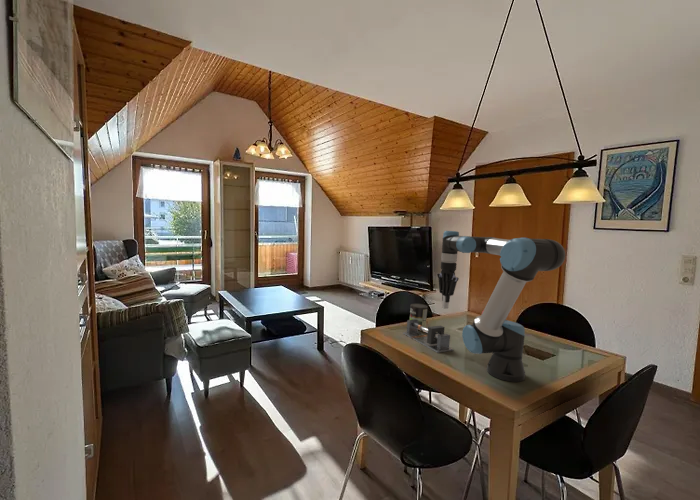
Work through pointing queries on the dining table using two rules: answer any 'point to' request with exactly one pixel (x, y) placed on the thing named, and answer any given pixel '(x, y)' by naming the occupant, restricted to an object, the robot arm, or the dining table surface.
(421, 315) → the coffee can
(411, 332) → the rail
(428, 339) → the collar
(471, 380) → the dining table surface
